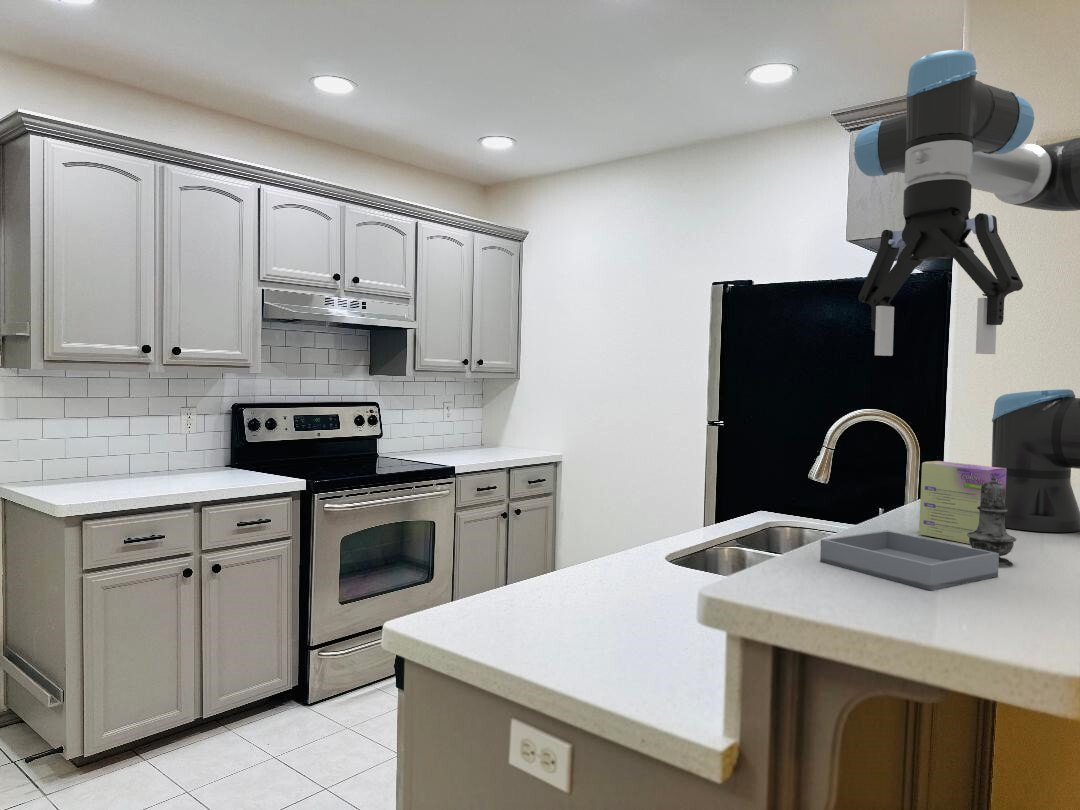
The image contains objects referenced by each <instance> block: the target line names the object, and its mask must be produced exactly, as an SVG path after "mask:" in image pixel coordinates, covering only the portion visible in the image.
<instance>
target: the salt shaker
mask: <svg viewBox="0 0 1080 810" xmlns="http://www.w3.org/2000/svg"><path fill="white" fill-rule="evenodd" d="M991 479H992V480H991V481H989V482H987V483H984V484H983V485H982V486H981V502H980V506H979V507H977V509H979V510H980V513H979V525H978V528H977V530H975V531H974V532H970V533H967V536H968V537H969V542H970V544H969V545H970V547H971V548H976V549H981V550H985V551H990V552H995V553H999V565H998V568H1010V567H1013V566H1014V564H1013V562H1012V561H1010V560H1009V559H1007V558H1004V557H1003V556H1006V555H1008V554H1009V553H1011V552H1012V550H1013V548H1014V542H1016V541H1017V538H1015V536H1012V535H1010V534H1009V533H1008V532H1007V529H1006V528H1005V512H1007V511H1008V510H1007V509H1006V508H1005V487H1004V486H1003V485H1002V484H1000V483H998V482H996V481H995V479H996V478H995V476H994V475H993V476H992V478H991Z"/></svg>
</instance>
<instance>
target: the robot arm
mask: <svg viewBox="0 0 1080 810" xmlns="http://www.w3.org/2000/svg"><path fill="white" fill-rule="evenodd" d="M976 63H977V61H976V58H975V56H974V54H973V53H972V52H970V51H968V50H965V49H964V50H962V49H947V50H946V49H945V50H941V51H936V52H933V53H932V52H931V53H930V54H926V55H924V56H922V57H919V58H918V59H917V60H916V61H914V62H913V63H912V64H911V66H910V68H909V72H908V77H907V78H908V79H907V88H906V93H905V99H906V113H904V114H900V115H897V116H894V117H890V118H887V119H882V120H880V121H878V122H875V123H873V124H870V125H868V126H866V127H864V128H862V129H861V131H860V132H859V133H858V134H857V136H856V138H855V141H854V146H853V147H854V152H853V154H854V155H853V156H854V160H855V163H856V166H857V167H858V169H859V170H860V171H861V172H862V173H863V174H864V175H865V176H867V177H878V176H888V175H889V174H892V173H893V174H894V173H901V174H904V181H903V182H904V184H906V185H907V186H906V188H905V189H904V190H903V208H902V210H903V211H902V213H903V218H904V221H905V224H904V227H903V229H902V230H891V229H883V231H882V232H881V235H880V243H879V248H878V250H877V253H876V255H875V257H874V259H873V262H872V264H871V267H870V269H869V272H868V273H867V276H866V278H865V281H864V283H863V285H862V287H861V289H860V292H859V294H858V297H857V299H858V301H859V302H861V303H864V304H868V305H869V306H870V307H871V316H870V317H871V318H870V319H871V320H870V321H871V322H870V327H871V330H872V331H874V332H875V333H874V334H875V335H874V356H883V357H886V356H888V357H892V356H893V355H894V328H895V327H894V326H895V322H894V321H895V306H892V304H891V301H893V299H894V297H895V296H896V295H897V294H898V292H899V291H900V289H901V288H902V287H903V285H904V284H905V283H906V282H907V280H908V279H909V277H910V276H911V274H913V272H914V271H915V269H916V268H917V267H918V266H920V265H921V264H922V263H923V262H932V261H936V260H938V259H943V260H948V259H952V258H953V260H955V261H956V262H957V264H958V265H959V266H960V267H961V268H962V269H963V270H964V272H965V273H966V274H967V275H968V276H969V278H970V279H971V280H972V281H973V282H974V283H975V284H976V286H977V287H978V288H979V289H980V290H981V291H982V296H983V297H977V306H976V308H977V309H976V338H975V339H976V340H975V354H976V355H977V354H980V355H996V346H997V343H996V341H997V326H1002V325H1003V323H1004V317H1005V316H1004V315H1005V313H1004V311H1005V299H1006V296H1007V295H1008V296H1009V294H1012V293H1014V292H1019V291H1021V290H1022V289H1023V287H1024V283H1023V281H1022V279H1021V276H1020V275H1019V273H1018V271H1017V269H1016V267H1015V265H1014V263H1013V261H1012V259H1011V257H1010V255H1009V253H1008V251H1007V249H1006V247H1005V244H1004V243H1003V241H1002V239H1001V237H1000V235H999V234H998V221H997V217H996V216H995V215H992V214H987V213H983V212H980V213H977V214H976V215H975V217H972V218H970V216H969V215H970V214H969V212H971V208H972V189H974V190H977V191H981V192H986V193H990V194H993V195H994V196H995V197H996V198H997V200H1000V201H1001V202H1003V203H1005V204H1009V205H1013V206H1017V207H1018V206H1019V207H1024V208H1030V209H1035V210H1043V211H1051V212H1076V211H1080V137H1075V138H1071V139H1066V140H1063V141H1059V142H1054V143H1050V144H1043V145H1037V144H1034V143H1024V142H1025V141H1026V140H1027V139H1028V137H1029V136H1030V134H1031V133H1032V130H1033V128H1034V121H1035V112H1034V108H1033V107H1032V105H1031V103H1030V102H1029V101H1028V100H1027V99H1025V98H1023V97H1021V96H1019V95H1017V94H1016V93H1015V92H1013V91H1011V90H1006V89H1002V88H999V87H996V86H993V85H989V84H987V83H983V82H982V81H981V80H978V79H977V78H976V77H977V75H978V70H977V64H976ZM1023 143H1024V144H1023ZM971 231H972V234H974V235H976V238H977V241H978V243H979V244H980V247H981V249H982V251H983V253H984V255H985V257H986V259H987V261H988V263H989V266H990V267H991V269H992V271H993V273H992V272H991V271H990V269H989V268H988V267H987V266H986V265H985V264H984V263H983V261H982V260H980V258H979V257H978V256H977V255H976V253H975V250H974V249H973V248H972V247H971V245H970V244H968V243H967V241H966V239H967V237H968V236H969V235H970V233H971ZM904 244H905V246H904V248H903V249H902V250H901V252H900V253H899V251H900V248H901V247H903V245H904ZM896 258H897V261H896ZM895 261H896V262H895ZM894 263H895V264H894ZM991 423H992V436H991V437H992V438H991V439H992V440H991V467H999V468H1006V469H1007V472H1006V492H1005V508H1006V509H1007V510H1008V511H1007V512H1005V529H1006V528H1007V529H1012V530H1020V531H1022V530H1023V531H1030V532H1041V533H1042V532H1043V533H1070V532H1071V533H1072V532H1073V533H1074V532H1078V531H1080V508H1079V504H1078V502H1077V500H1076V496H1075V493H1074V489H1073V487H1072V483H1071V482H1072V481H1071V476H1072V469H1076V470H1077V469H1079V470H1080V397H1076V394H1075V392H1074V391H1073V390H1072V389H1068V388H1067V389H1065V388H1064V389H1048V390H1034V391H1022V392H1021V391H1020V392H1012V393H1006V394H1002V395H1000V396H999V397H997V398H996V400H995V402H994V407H993V412H992V418H991Z"/></svg>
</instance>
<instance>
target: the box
mask: <svg viewBox="0 0 1080 810" xmlns="http://www.w3.org/2000/svg"><path fill="white" fill-rule="evenodd" d="M1006 472H1007V469H1006V468H999V467H992V466H988V465H987V466H986V465H980V464H971V463H969V464H968V463H959V462H951V461H944V460H943V461H942V460H933V461H932V460H931V461H923V462H922V463H921V479H920V481H921V482H920V500H919V503H920V504H919V520H918V521H919V522H918V528H919V530H918V534H919V536H920V535H921V536H927V537H933V538H938V539H943V540H948V541H952V542H957V543H962V544H967V545H970V542H969V537H968V536H967V533H970V532H974V531H975V530H977V528H978V525H979V513H980V510H979V509H977V507H979V506H980V502H981V486H982V485H983V484H984V483H987V482H989V481H991V480H992V479H991V478H992V476H993V475H994V476H995V478H996V479H995V481H996V482H998V483H1000V484H1002V485H1003V486H1004V487H1005V492H1006Z"/></svg>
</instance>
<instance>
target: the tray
mask: <svg viewBox="0 0 1080 810" xmlns="http://www.w3.org/2000/svg"><path fill="white" fill-rule="evenodd" d="M819 553H820V555H819V556H820V558H819V559H820V560H819V562H821V563H826V564H828V565H832V566H836V567H840V568H843V569H847V570H852V571H855V572H859V573H863V574H866V575H869V576H874V577H877V578H881V579H885V580H889V581H892V582H895V583H896V582H897V583H900V584H903V585H907V586H911V587H915V588H919V589H922V590H925V591H936V590H940V589H945V588H946V589H947V588H950V587H955V586H959V584H960V585H964V584H963V583H965V584H967V583H966V582H970V583H973V582H972V581H975V582H978V581H977V580H980V581H983V580H982V579H984V580H987V579H988V578H989V579H992V577H994V578H998V577H999V567H998V565H999V557H1000V556H999V553H995V552H990V551H985V550H981V549H976V548H972V547H971V546H965V545H961V544H960V545H959V544H956V543H950V542H946V541H941V540H937V539H930V538H926V537H920V536H916V535H911V534H908V533H901V532H896V531H892V530H882V531H881V530H880V531H874V532H873V531H872V532H867V533H858V534H851V535H845V536H844V535H843V536H836V537H831V538H822V539H820V552H819ZM989 579H988V580H989Z"/></svg>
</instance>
